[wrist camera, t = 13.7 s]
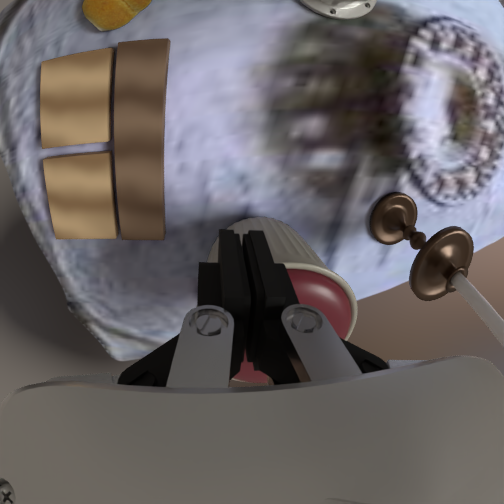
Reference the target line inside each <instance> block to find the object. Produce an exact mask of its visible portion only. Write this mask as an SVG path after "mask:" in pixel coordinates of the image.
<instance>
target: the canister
mask: <svg viewBox="0 0 504 504" xmlns="http://www.w3.org/2000/svg"><path fill="white" fill-rule="evenodd" d="M227 230H234V233H239V235H240V240H241V245H242V238H243V234H248V231H249V230H263V231H264V234H265V237H266V240H267V242H268V245H269V248H270V251H271V254H272V257H273V260H274V263H283V264H284V265H285V266H286V269H287V272H288V274H289V277H290V279H291V282H292V285H293V287H294V290H295V292H296V295H297V298H298V300H299V303H300V304H306V305H310V306H313V307H315V308H317V309H318V310H320V311H321V312H322V313H323V314H324V315H325V316H326V318H327V319H328V321H329V322H330V324H331V325H332V327H333V328H334V330H335V332H336V333H337V335H338V336H339V337H340V338H342V339H344V340H346V341H347V339H348V338H349V336H350V334H351V333H352V331H353V328H354V326H355V322H356V318H357V302H356V298H355V295H354V293H353V291H352V289H351V287H350V286H349V285H348V283H347V282H346V281H345V280H344V279H343V278H342V277H340V276H339V275H338V274H336V273H335V272H333V271H331V270H329V269H328V268H327V267H326V265H325V264H324V263H323V262H322V261H321V259H320V258H319V257H318V256H317V254H316V253H315V252H314V251H313V250H312V249H311V247H310V246H309V245H308V244H307V243H306V242H305V241H304V239H303V238H302V237H301V236H300V235H299V234H298V233H297V232H296V231H295V230H294V229H292V228H291V227H290V226H289V225H287V224H284V223H283V222H282V221H278V220H275V219H273V218H267V217H255V218H248V219H244V220H241V221H239V222H235V223H234V224H233V225H231V226H229V227H228V228H227ZM218 245H219V237H217V239H216V242H215V243H214V244H213V246H212V248H211V251H210V253H209V256H208V260H207V262H216V263H218ZM196 307H197V306H196ZM232 379H233V380H237V381H243V382H253V383H268V382H267V375H266V374H264V373H263V372H261V371H254V368H253V362H247V357H246V350H245V354H244V361H243V363H241V369H240V372H239V373H238V374H236V375H235V376H234V377H233V378H232Z"/></svg>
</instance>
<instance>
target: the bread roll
mask: <svg viewBox="0 0 504 504" xmlns="http://www.w3.org/2000/svg"><path fill="white" fill-rule="evenodd" d="M151 1H152V0H84V2H83V5H82V9H83V12H84V15H85V17H86V19H88V20H89V21H90V22H91V23H92V24H93V25H94V26H95V27H97V28H98V29H99V30H100V31H107V30H114V29H117V28H120V27H122V26H124V25H125V24H127V23H128V22H129V21H130V20H131V19H133V18H134V16H135V15H137V14H138V13H139V12H140V11H142V10H143V9H145V8H146V7H147V6H148V5H149V4H150V3H151Z"/></svg>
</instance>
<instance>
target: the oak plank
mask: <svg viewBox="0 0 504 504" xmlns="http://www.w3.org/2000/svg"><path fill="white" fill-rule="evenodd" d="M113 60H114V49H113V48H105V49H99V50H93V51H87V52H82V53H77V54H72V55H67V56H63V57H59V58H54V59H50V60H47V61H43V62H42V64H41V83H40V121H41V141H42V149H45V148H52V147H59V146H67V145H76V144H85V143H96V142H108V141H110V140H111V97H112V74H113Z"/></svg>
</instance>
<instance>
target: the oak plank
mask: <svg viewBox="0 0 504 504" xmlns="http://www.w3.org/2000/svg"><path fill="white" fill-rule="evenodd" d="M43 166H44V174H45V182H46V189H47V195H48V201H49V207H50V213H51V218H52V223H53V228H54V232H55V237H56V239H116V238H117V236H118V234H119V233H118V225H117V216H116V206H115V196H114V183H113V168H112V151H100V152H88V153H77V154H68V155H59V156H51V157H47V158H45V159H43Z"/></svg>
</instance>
